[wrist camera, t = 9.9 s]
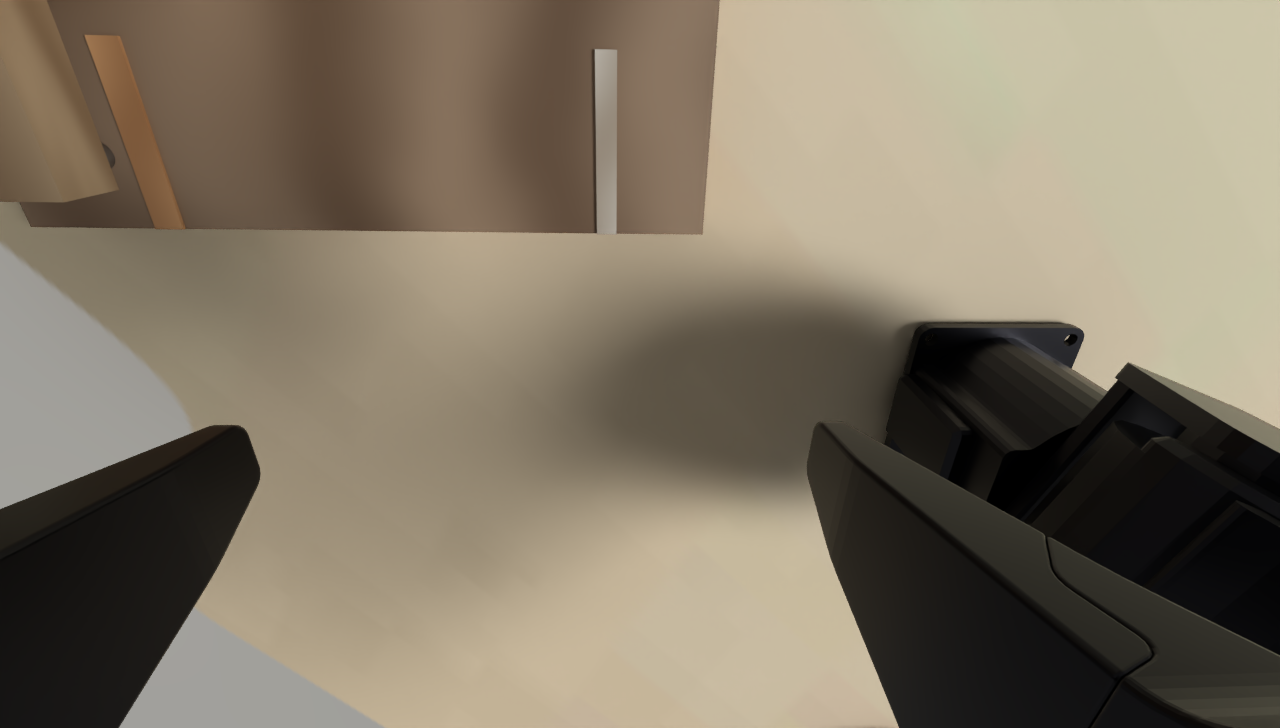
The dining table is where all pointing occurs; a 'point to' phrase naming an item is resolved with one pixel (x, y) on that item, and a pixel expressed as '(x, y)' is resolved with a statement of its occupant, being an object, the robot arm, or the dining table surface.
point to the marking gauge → (44, 114)
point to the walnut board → (395, 114)
